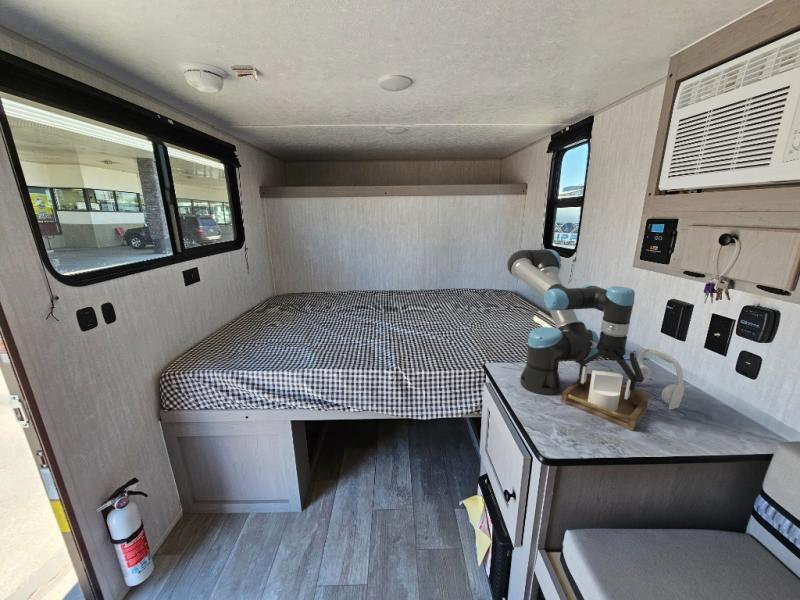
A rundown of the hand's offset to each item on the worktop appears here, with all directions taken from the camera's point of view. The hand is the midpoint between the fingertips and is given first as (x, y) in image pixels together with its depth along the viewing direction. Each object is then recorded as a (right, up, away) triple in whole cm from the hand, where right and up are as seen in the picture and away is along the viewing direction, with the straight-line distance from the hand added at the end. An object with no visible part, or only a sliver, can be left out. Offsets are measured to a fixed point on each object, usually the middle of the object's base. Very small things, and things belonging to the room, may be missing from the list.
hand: (604, 389), depth 111 cm
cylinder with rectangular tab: (0, -6, +1) cm, 6 cm away
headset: (+24, -5, +8) cm, 25 cm away
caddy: (+1, -6, +2) cm, 7 cm away
